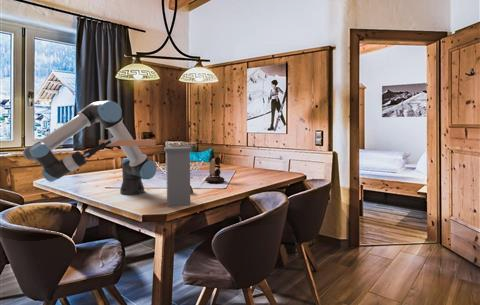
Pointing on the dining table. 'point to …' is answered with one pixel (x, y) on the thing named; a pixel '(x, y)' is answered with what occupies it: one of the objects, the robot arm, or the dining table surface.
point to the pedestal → (178, 176)
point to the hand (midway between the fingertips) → (117, 137)
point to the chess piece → (214, 173)
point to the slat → (131, 143)
